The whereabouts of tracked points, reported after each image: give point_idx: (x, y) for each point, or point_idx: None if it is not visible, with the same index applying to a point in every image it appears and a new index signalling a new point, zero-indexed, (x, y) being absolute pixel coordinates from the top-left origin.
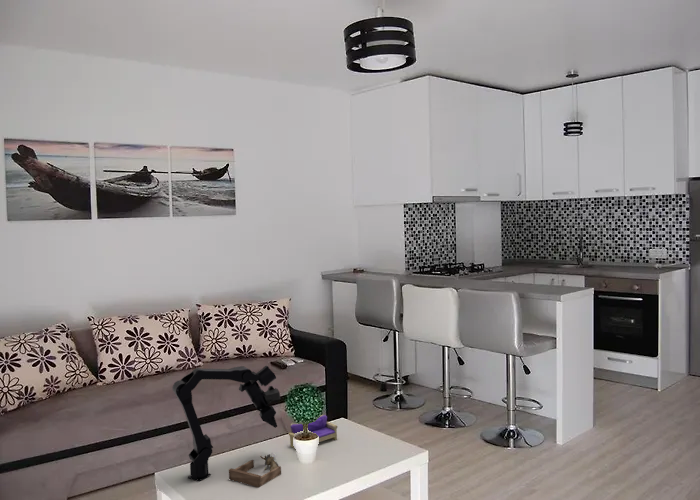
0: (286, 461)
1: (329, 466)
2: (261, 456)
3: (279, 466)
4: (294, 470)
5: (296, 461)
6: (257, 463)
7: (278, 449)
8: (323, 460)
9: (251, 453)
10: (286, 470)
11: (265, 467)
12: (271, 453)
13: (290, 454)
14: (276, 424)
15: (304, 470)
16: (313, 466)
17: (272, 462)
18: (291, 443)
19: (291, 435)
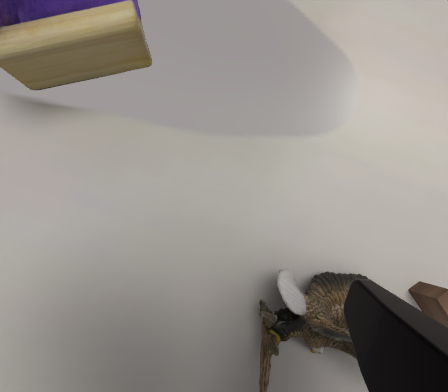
0: (259, 195)
1: (444, 11)
2: (263, 378)
3: (444, 297)
4: (406, 197)
5: (289, 143)
6: (198, 366)
7: (40, 176)
8: (351, 5)
9: (8, 359)
10: (385, 238)
11: (322, 351)
12: (291, 310)
13: (165, 137)
14: (405, 307)
15: (432, 148)
16: (403, 85)
17: (341, 313)
18: (35, 78)
19: (29, 53)
